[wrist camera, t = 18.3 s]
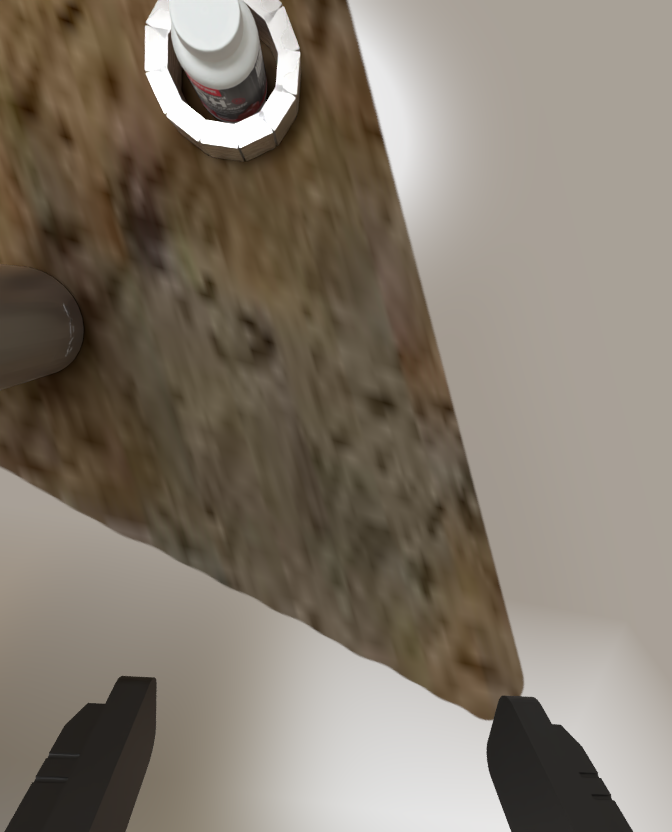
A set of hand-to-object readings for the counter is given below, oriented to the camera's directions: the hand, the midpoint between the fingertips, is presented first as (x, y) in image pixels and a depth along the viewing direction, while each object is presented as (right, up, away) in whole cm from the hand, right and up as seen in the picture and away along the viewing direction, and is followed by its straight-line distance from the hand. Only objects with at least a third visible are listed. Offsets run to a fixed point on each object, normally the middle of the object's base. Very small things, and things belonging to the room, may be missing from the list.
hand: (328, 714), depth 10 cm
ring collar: (-8, +32, +24) cm, 41 cm away
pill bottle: (-8, +32, +24) cm, 41 cm away
